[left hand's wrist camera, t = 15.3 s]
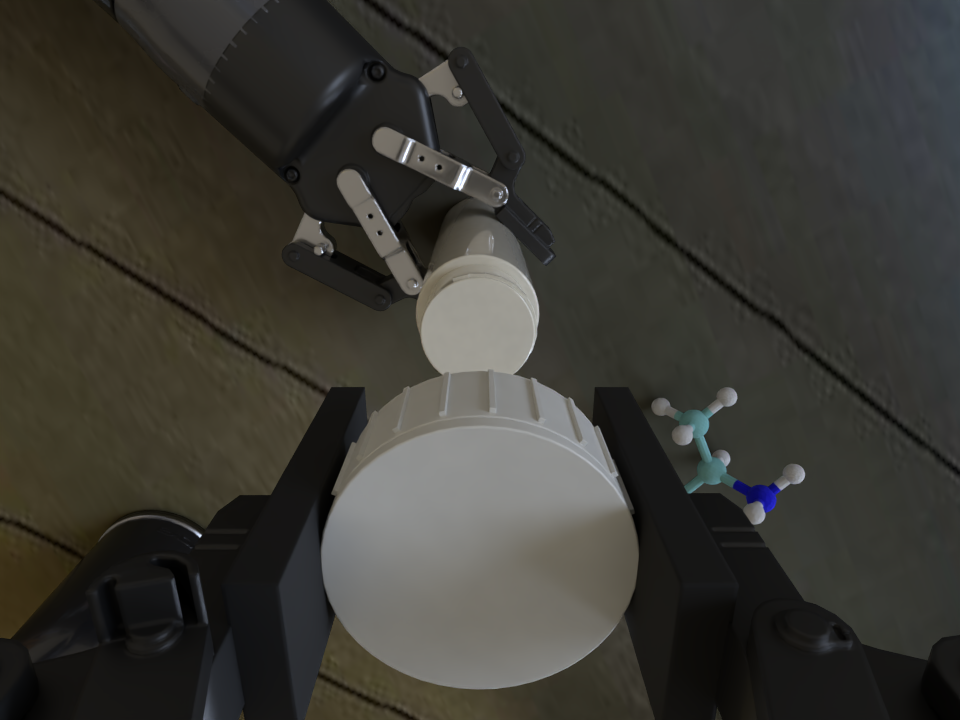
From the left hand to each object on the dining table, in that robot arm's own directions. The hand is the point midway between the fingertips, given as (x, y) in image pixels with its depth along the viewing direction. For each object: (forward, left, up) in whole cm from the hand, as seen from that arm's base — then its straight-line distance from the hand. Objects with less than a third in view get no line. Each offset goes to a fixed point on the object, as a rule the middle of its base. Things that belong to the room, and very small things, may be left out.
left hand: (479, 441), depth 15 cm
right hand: (-1, -2, -19) cm, 20 cm away
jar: (0, 0, -26) cm, 26 cm away
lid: (0, 0, +4) cm, 4 cm away
